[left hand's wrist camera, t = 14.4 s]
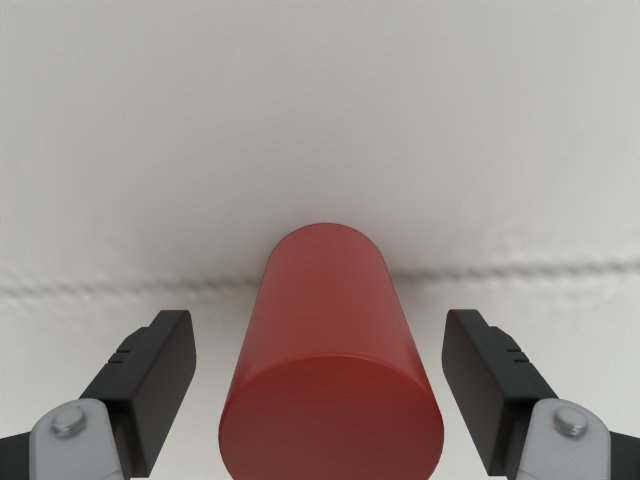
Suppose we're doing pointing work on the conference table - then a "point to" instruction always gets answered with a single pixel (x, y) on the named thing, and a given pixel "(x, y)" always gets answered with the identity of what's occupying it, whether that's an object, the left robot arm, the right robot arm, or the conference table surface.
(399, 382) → the can
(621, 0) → the conference table surface
